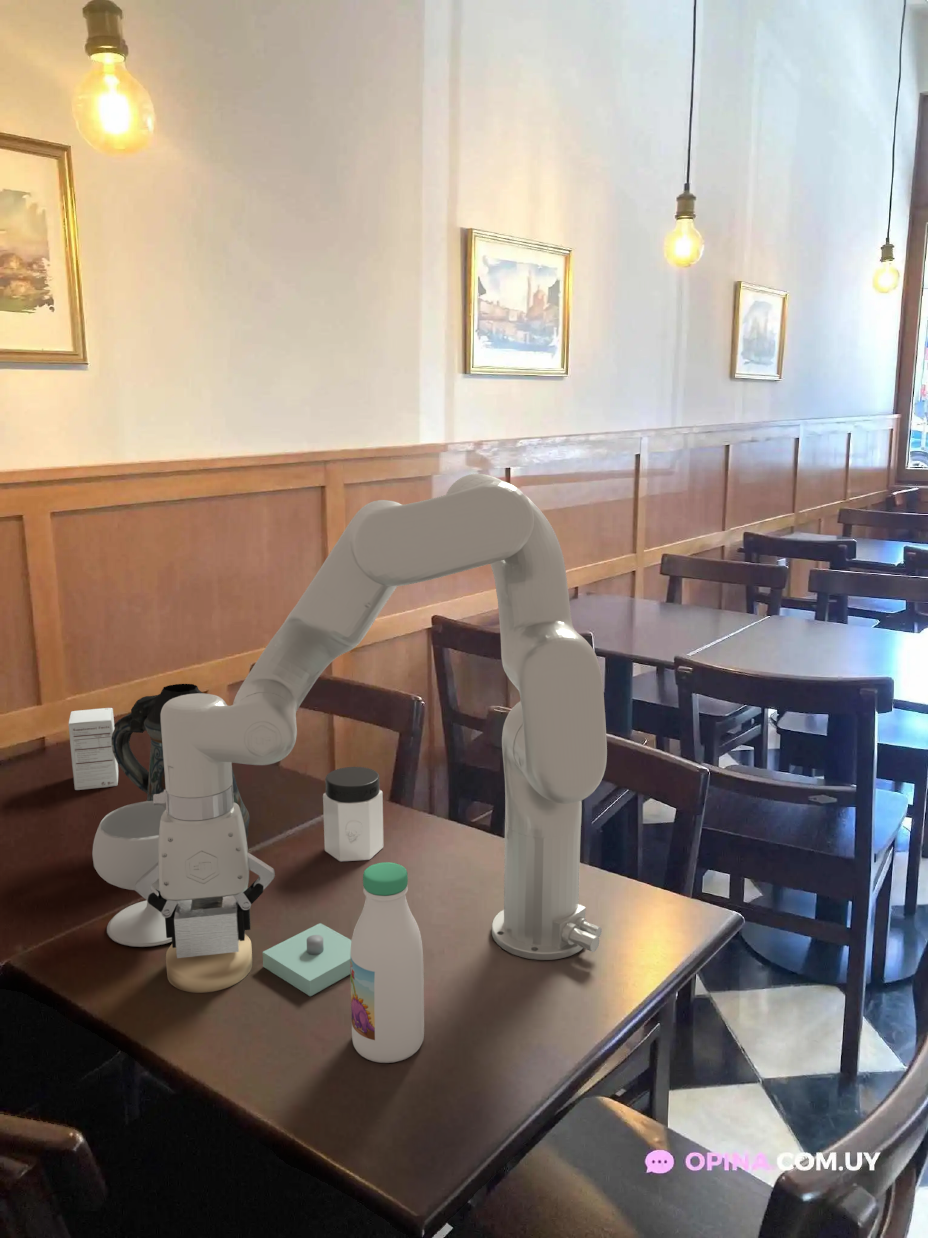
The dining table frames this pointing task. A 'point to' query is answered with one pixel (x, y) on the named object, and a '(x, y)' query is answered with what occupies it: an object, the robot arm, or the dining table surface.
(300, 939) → the stand
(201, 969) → the hub
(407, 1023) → the milk bottle
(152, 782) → the beer stein
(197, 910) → the collar
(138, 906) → the chalice
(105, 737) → the supplement box
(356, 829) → the jar
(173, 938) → the robot arm
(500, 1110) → the dining table surface
